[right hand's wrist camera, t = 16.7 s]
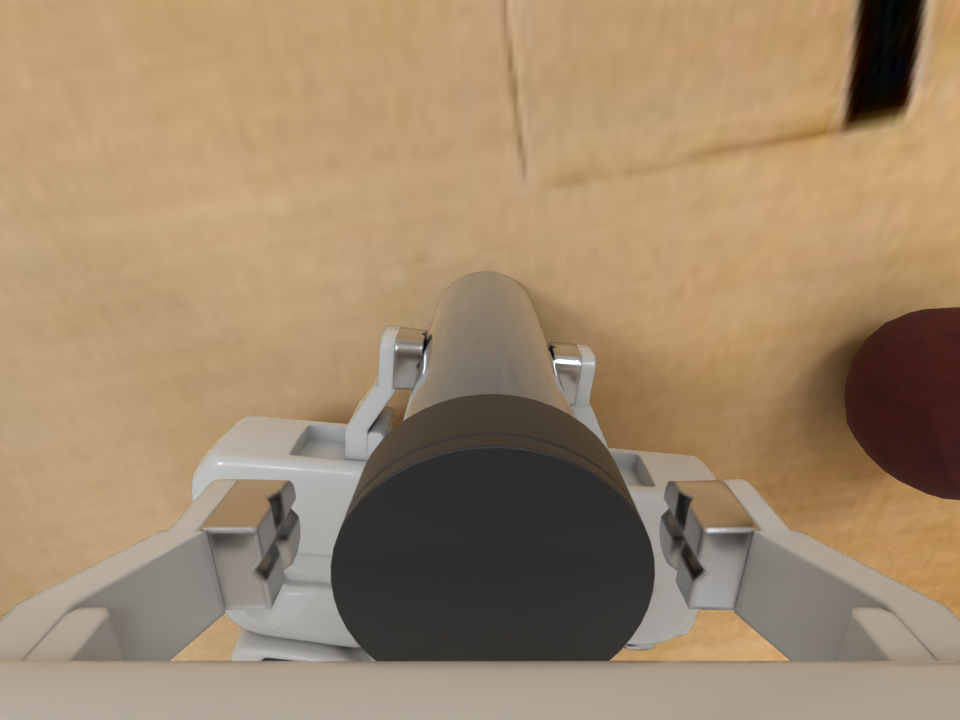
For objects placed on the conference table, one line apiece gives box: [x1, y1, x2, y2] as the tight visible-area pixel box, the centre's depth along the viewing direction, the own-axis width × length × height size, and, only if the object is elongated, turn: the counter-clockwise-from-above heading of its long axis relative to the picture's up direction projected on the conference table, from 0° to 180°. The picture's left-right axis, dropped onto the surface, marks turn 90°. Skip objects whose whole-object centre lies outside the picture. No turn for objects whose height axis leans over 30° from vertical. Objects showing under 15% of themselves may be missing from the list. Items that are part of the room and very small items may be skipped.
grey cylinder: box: [402, 272, 575, 422], centre depth 16 cm, size 4×4×15 cm
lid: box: [331, 394, 655, 661], centre depth 9 cm, size 5×5×2 cm
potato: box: [845, 307, 960, 500], centre depth 21 cm, size 7×8×7 cm
